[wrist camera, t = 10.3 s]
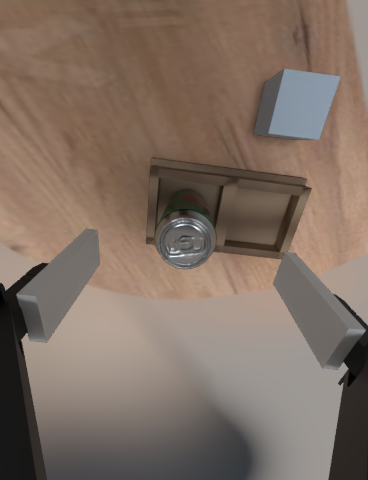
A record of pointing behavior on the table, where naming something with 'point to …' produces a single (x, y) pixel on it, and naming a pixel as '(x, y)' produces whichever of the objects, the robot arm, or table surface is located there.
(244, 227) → the caddy
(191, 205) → the soda can
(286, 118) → the block
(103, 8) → the table surface
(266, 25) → the table surface
